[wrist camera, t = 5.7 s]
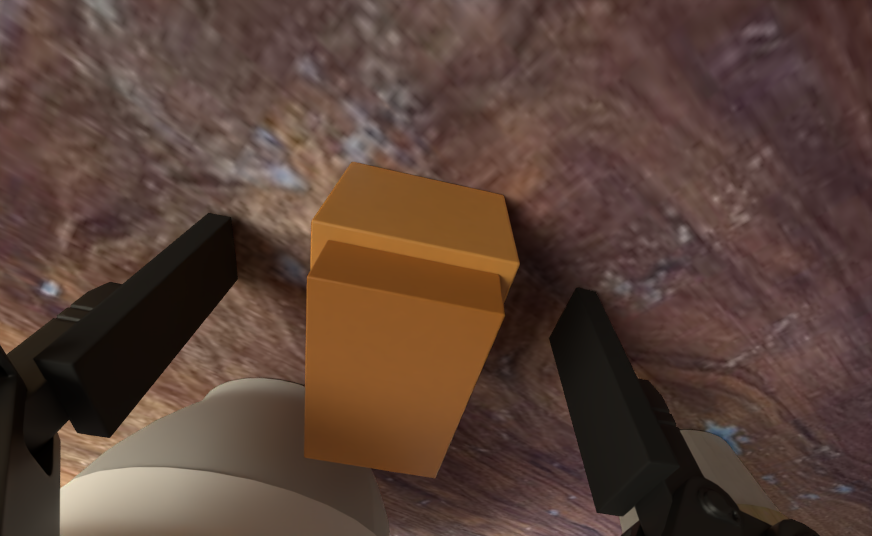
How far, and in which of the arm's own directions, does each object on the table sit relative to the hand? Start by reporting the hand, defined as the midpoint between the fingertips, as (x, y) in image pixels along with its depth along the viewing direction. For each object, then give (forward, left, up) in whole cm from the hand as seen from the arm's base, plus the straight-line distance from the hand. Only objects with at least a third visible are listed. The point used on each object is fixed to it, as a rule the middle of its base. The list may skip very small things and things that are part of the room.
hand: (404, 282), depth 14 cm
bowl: (+12, -5, 0) cm, 13 cm away
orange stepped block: (0, 0, 0) cm, 0 cm away
